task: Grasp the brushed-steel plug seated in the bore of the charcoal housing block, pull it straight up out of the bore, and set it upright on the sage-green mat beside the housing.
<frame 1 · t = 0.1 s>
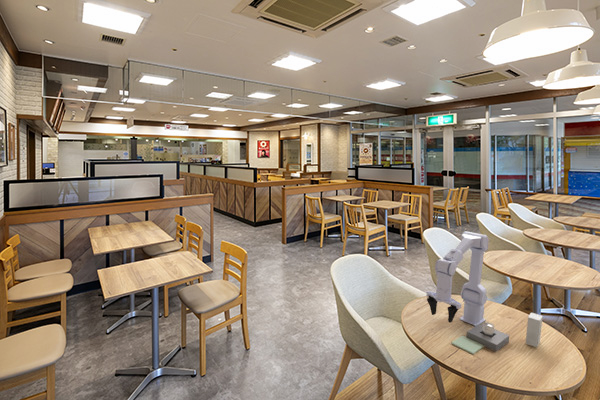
hand: (441, 317, 134), 10 cm above the table, tool pointing down, fingers open, 7 cm apart
skincare box: (532, 343, 133), on the table
housing: (487, 339, 135), on the table
mat: (467, 345, 131), on the table
plug: (488, 332, 135), in the housing
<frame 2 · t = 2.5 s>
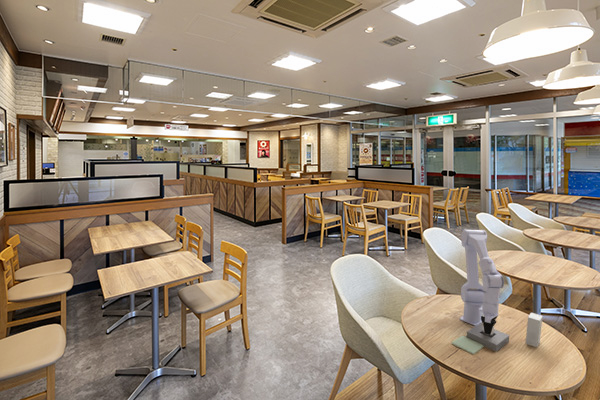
hand: (488, 331, 135), 4 cm above the table, tool pointing down, fingers closed on plug, 4 cm apart
plug: (488, 332, 135), in the housing, touching gripper
everything else where it was.
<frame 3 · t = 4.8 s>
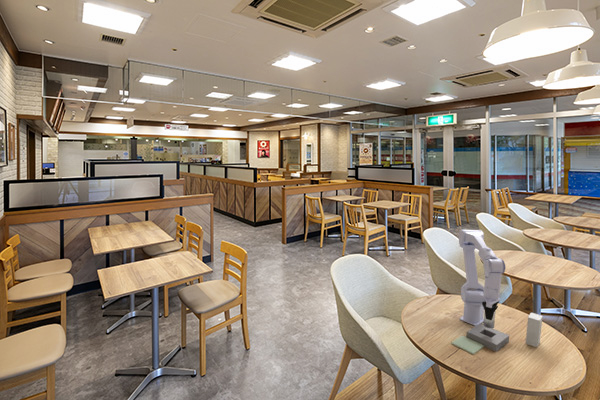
hand: (489, 317, 134), 10 cm above the table, tool pointing down, fingers closed on plug, 4 cm apart
plug: (489, 318, 134), point 10 cm above the table, touching gripper
everything else where it was.
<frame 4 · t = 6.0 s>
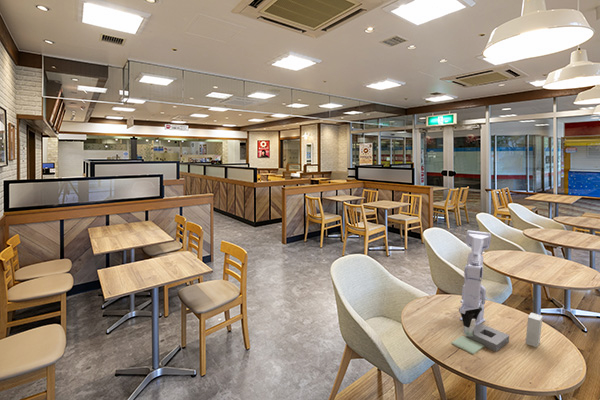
hand: (469, 324, 130), 9 cm above the table, tool pointing down, fingers closed on plug, 4 cm apart
plug: (469, 326, 130), point 9 cm above the table, touching gripper
everything else where it was.
when the fingers open (6 cm above the table, at t = 7.0 s): plug stays where it is, resting on mat.
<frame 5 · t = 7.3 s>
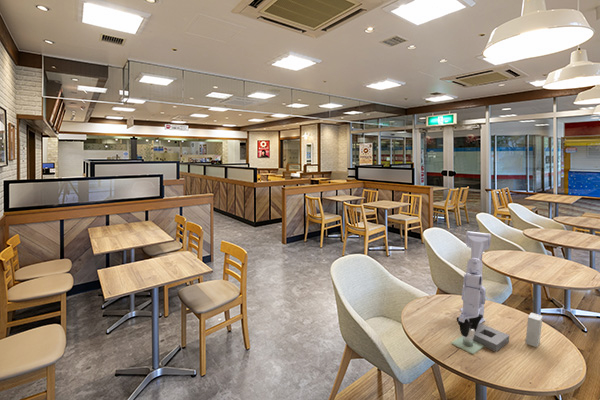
hand: (468, 332, 130), 6 cm above the table, tool pointing down, fingers open, 7 cm apart
plug: (468, 336, 131), on the mat, point 4 cm above the table
everything else where it was.
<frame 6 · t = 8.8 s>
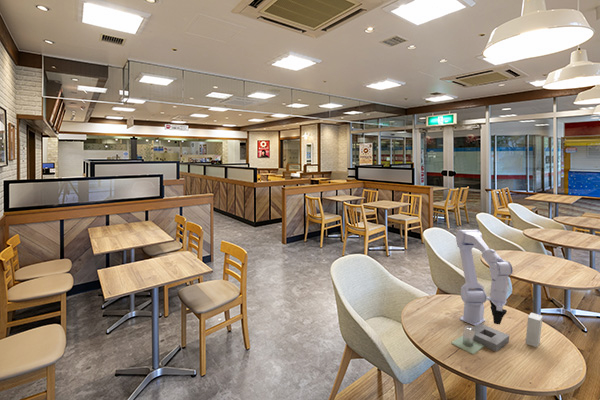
hand: (495, 319, 134), 9 cm above the table, tool pointing down, fingers open, 7 cm apart
nothing on the table moved.
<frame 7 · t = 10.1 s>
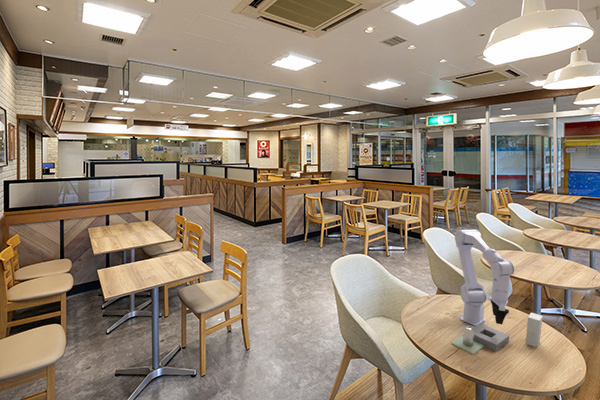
hand: (497, 319, 134), 9 cm above the table, tool pointing down, fingers open, 7 cm apart
nothing on the table moved.
at the end: plug 0.1 cm off-centre on the mat, point 4.1 cm above the mat's base; plug tilted 1°; the gripper is holding nothing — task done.
